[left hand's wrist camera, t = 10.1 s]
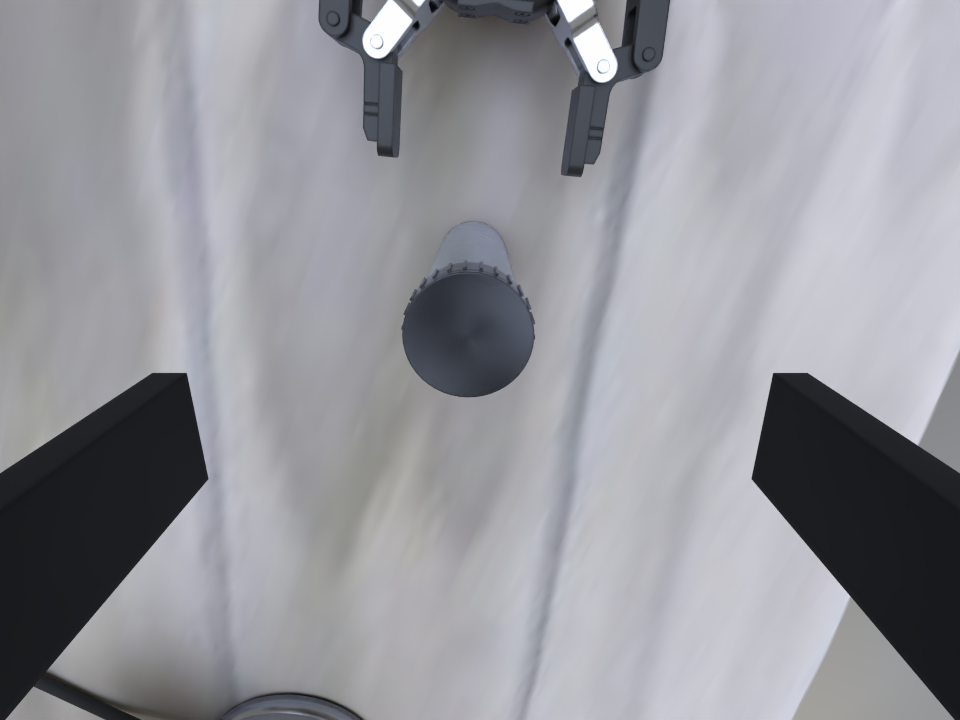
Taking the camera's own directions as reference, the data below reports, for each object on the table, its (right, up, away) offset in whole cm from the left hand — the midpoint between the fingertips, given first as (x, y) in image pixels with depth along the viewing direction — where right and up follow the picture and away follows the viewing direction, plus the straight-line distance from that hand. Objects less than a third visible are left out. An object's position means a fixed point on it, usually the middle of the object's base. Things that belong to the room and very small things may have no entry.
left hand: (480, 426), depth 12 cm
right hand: (0, +11, +13) cm, 17 cm away
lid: (0, +2, +6) cm, 6 cm away
